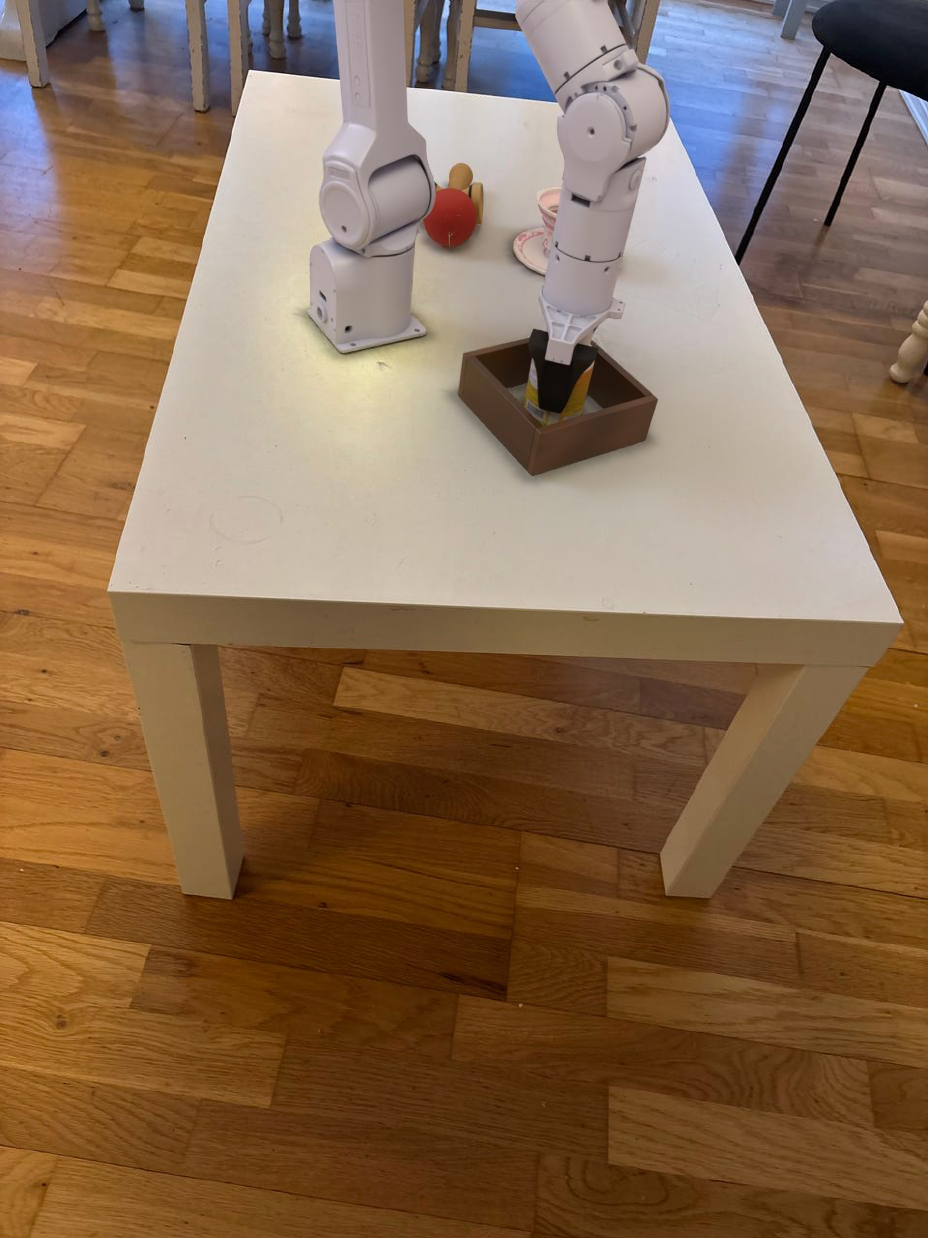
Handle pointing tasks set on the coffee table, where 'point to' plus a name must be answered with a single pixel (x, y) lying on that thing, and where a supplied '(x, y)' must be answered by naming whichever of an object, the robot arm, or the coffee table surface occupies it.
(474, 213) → the kendama
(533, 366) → the supplement bottle
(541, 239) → the teacup
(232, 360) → the coffee table surface
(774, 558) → the coffee table surface
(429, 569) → the coffee table surface
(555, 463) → the square frame
